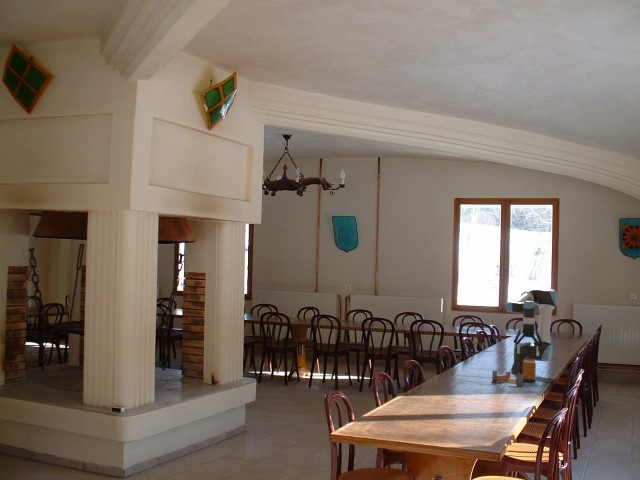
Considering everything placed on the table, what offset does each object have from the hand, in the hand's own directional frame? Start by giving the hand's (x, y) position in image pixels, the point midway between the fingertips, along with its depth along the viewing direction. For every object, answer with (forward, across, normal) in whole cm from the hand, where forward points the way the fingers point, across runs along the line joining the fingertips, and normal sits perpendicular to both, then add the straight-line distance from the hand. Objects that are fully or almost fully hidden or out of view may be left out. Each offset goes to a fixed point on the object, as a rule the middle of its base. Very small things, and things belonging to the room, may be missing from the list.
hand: (527, 354), depth 480 cm
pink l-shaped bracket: (+18, -12, -14) cm, 26 cm away
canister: (+19, 0, -1) cm, 19 cm away
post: (+18, -14, -23) cm, 32 cm away
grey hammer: (+18, +1, -23) cm, 29 cm away
